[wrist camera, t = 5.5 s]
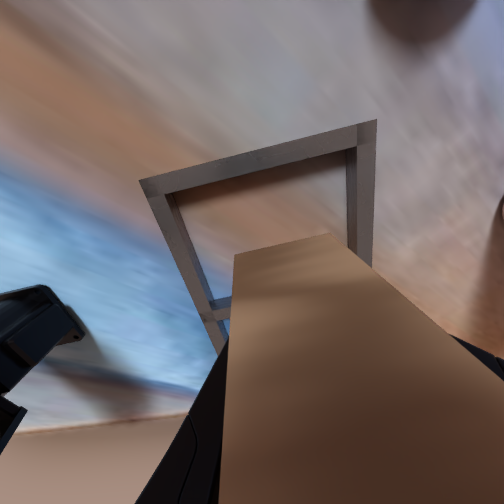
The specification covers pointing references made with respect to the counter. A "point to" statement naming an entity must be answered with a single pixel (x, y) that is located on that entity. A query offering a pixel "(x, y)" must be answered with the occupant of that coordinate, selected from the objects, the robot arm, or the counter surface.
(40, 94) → the counter surface
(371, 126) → the rail
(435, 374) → the walnut peg
